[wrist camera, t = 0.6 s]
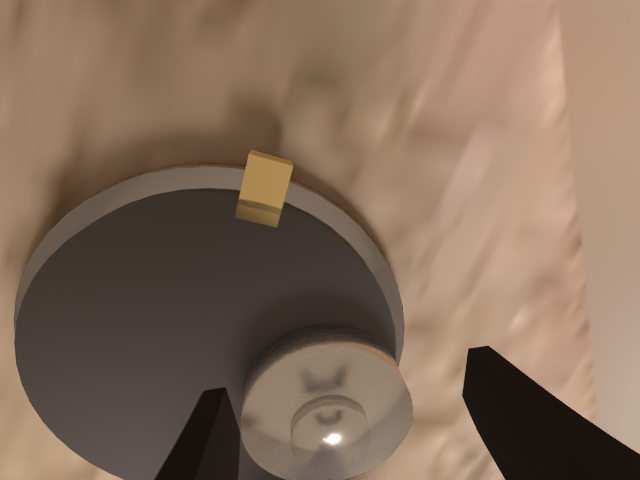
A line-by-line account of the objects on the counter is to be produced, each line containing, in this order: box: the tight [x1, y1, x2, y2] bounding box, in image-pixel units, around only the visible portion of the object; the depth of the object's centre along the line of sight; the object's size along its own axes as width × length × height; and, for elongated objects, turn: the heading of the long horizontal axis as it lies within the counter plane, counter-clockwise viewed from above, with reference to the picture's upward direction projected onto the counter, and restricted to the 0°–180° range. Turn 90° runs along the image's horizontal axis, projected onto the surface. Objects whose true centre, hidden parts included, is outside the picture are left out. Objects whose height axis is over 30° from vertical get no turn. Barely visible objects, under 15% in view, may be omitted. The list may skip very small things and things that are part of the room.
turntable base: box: [14, 163, 404, 366], centre depth 21 cm, size 22×22×1 cm
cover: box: [241, 323, 413, 480], centre depth 19 cm, size 9×9×4 cm
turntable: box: [14, 150, 396, 480], centre depth 19 cm, size 22×20×2 cm
